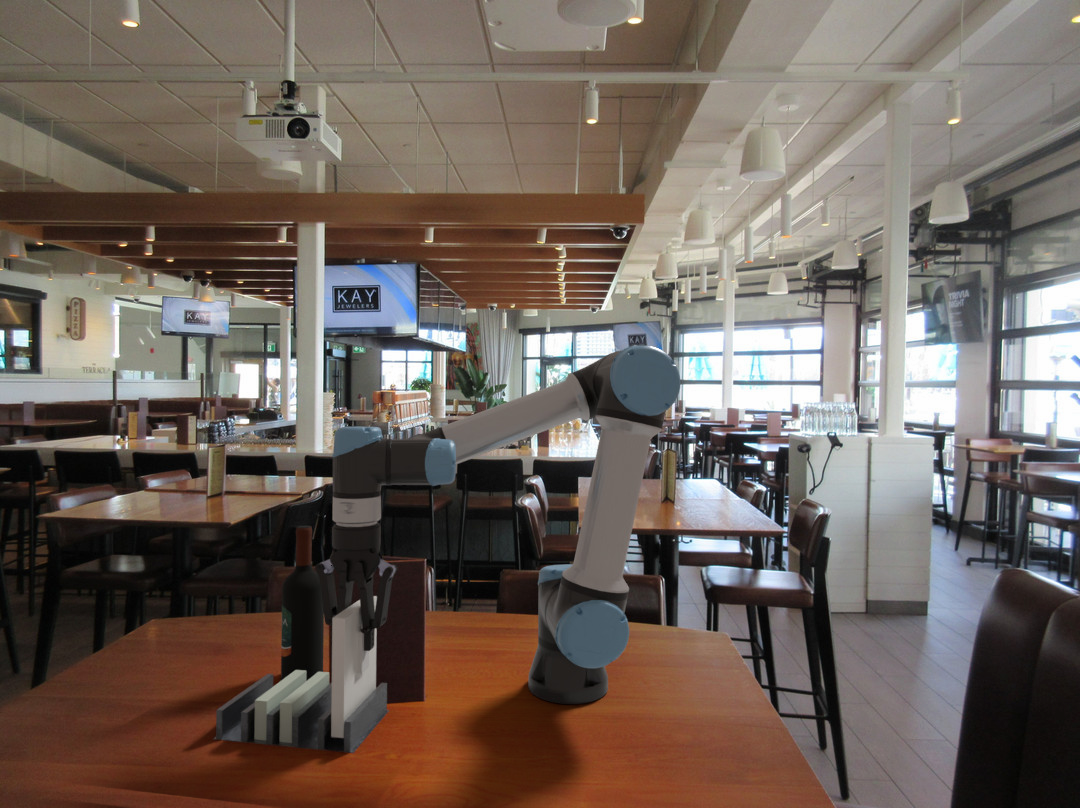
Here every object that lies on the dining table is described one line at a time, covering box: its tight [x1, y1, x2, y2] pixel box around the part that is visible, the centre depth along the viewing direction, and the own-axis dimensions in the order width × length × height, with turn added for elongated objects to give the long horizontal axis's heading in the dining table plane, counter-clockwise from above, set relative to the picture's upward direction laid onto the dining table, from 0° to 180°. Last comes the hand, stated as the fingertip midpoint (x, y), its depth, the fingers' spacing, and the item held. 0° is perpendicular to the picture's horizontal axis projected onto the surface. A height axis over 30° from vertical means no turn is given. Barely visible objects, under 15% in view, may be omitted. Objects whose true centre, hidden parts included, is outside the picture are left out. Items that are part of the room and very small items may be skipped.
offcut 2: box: [280, 671, 330, 743], centre depth 106 cm, size 2×12×6 cm, turn 171°
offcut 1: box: [254, 670, 307, 740], centre depth 107 cm, size 2×12×6 cm, turn 171°
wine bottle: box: [280, 525, 325, 681], centre depth 125 cm, size 8×8×30 cm
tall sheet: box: [331, 595, 378, 738], centre depth 105 cm, size 2×12×18 cm, turn 171°
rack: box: [213, 673, 390, 754], centre depth 106 cm, size 23×14×6 cm, turn 81°
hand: (355, 669), depth 105 cm, fingers closed on tall sheet, 2 cm apart
